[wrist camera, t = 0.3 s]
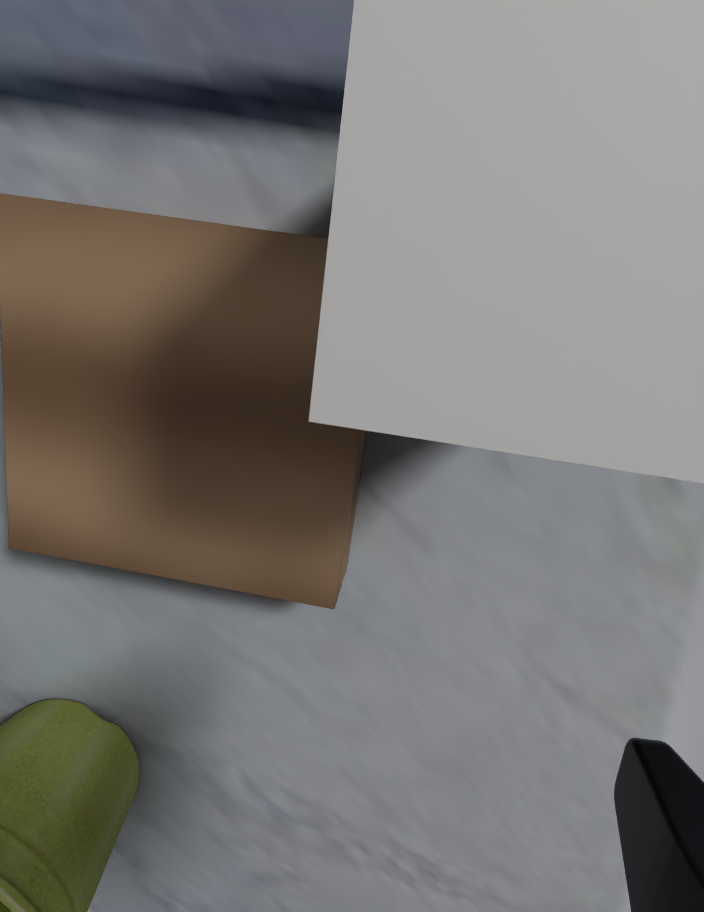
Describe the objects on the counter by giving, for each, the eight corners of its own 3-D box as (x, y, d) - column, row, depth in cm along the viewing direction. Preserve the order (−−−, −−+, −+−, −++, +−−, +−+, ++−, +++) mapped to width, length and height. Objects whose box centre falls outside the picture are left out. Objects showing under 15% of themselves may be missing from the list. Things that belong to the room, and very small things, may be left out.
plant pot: (-63, 677, 27) (-284, 859, 19) (135, 644, 25) (-13, 830, 17) (21, 849, 29) (-143, 1078, 21) (207, 830, 27) (108, 1073, 19)
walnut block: (347, 566, 23) (334, 609, 20) (60, 514, 24) (8, 548, 21) (393, 249, 19) (385, 247, 17) (57, 203, 20) (-4, 192, 17)
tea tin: (577, 359, 20) (782, 495, 8) (382, 332, 20) (307, 421, 9) (628, 143, 18) (992, -90, 6) (411, 119, 18) (369, -139, 7)
